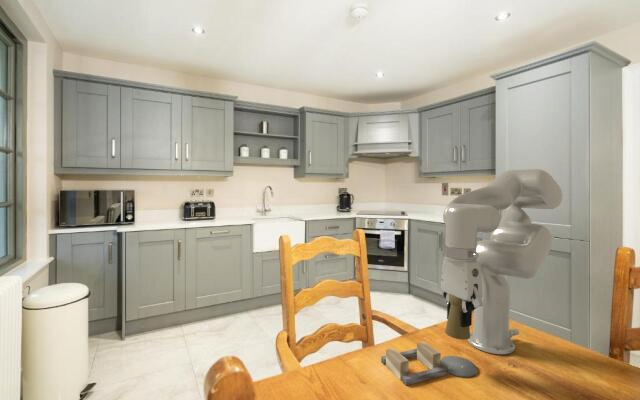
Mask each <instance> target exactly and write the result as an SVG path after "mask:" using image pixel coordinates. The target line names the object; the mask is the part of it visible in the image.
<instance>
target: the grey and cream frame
mask: <svg viewBox="0 0 640 400" xmlns="http://www.w3.org/2000/svg"><path fill="white" fill-rule="evenodd" d="M413 358H416V360H417V361H418V362H420V363H421V364H422V365H424V366H425V367H426V368H428V369H426V370H422V371H418V372H414V373H410V374H409V361H410V359H413ZM440 360H441V352H440V351H439V350H437V349H435V348H434V347H432V346H431V345H430V344H428V343H427V342H426V341H421V342H418V343H416V348H415V349H414V348H413V349H409V350H404V351H401V352H400V351H398V350H396V348H395V347H394V348H390V349H389V348H388V349H385V355H383V356H381V357H380V362H381V363H382V364H383V366H384V365H385V367H386V368H387V369H388V370H389V371H390V372H391V373H392V374H393V375H394V376H395V377H396V378H398V380H399V381H402V384H404V386H409V385H413V384H417V383H420V382H425V381H427V380H431V379H435V378H439V377H444V376H446V375H447V374H448V373H447V369H446V368H445V367H443V366H440Z"/></svg>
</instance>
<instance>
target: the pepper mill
mask: <svg viewBox="0 0 640 400" xmlns="http://www.w3.org/2000/svg"><path fill="white" fill-rule="evenodd" d="M449 302H450V304H451V306H450V311H449V316H448V319H447V322H446V327H445V331H444V332H445V333H444V334H446V335H447V336H448V337H450V338H453V339H457V340H460V341H461V340H463V341H465V340H466V341H467V340H468V339H469V338H470V333H471V330H470V329H471V328H470V326H467V327H461V325H460V322H461V320H460V313H461V311H463V310H462V300H461V299H460V298H458V297H456V296H454V295H451V294H450V295H449ZM467 305H469V302H467Z"/></svg>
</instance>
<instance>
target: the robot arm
mask: <svg viewBox="0 0 640 400" xmlns="http://www.w3.org/2000/svg"><path fill="white" fill-rule="evenodd" d="M562 201H563V191H562V189H561V186H560V185H559V184H558V182H557V181H556V179H554V177H553V176H552V175H550V173H549V172H547V171H545V170H543V169H540V168H539V169H538V168H535V169H533V168H532V169H512V170H511V169H510V170H506V171H503V172H502V173H501V174H499V175H498V176H497V177H496V178H494V180H492V181H491V182H490V183H489V184H488V185H487V186H484V187H483V186H482V187H479V188H476V189H473V190H471V191H468V192H464V193H462V194H460V195H458V196H456V197H455V198H454V199H453V200H452V201H450V202H449V203H448V204H447V205H446V207H445V209H444V211H443V215H442V220H443V222H444V225H445V241H444V244H445V248H444V257H443V261H442V266H441V276H440V286H439V287H438V289H439V291H440V293H442V296H443V297H444V300H445V302H444V303H445V305H446V306H447V307H446V319H447V320H448V316H449V311H450V306H451V304H450V302H449V295H450V294H451V295H454V296H456V297H458V298H460V299H461V300H462V310H463V311H461V313H460V320H461V322H460V325H461V327H467V326H469V327H471V326H472V319H473V326H472V328H473V331H472V332H471V331H470V338H469V339H467V343H469V344H470V345H471V346H472V347H474V349H477V350H480V351H482V352H485V353H488V354H493V355H510V354H512V353H513V352H514V351H515V350H516V344H515V342H513V341H512V340H511V339H512V337H514V336H518V335H519V334H520V330H519V329H518V328H510V318H511V315H510V314H511V287H510V284H509V283H508V281H507V279H506V277H505V276H508V277H513V278H517V279H523V280H531V279H533V278H536V276H537V275H538V274H539V271H540V270H541V268H542V266H543V264H544V263H545V261H546V258H547V257H548V255H549V252H550V250H551V246H552V240H553V239H552V232H551V231H550V230H549V228H547V226H545V225H542V224H537V223H532V219H531V218H530V216H529V215H528V213H527V212H526V211H525V210H524V209H534V210H535V209H536V210H537V209H538V210H553V209H556V208H558V207H559V206H560V205H561V203H562ZM500 211H501V212H502V217H501V215H500V214H501V213H500ZM478 233H481V234H482V233H483V234H487V233H490V234H489V235H490V236H489V239H482V240H478ZM467 302H469V305H467ZM472 313H473V314H472ZM472 317H473V318H472Z"/></svg>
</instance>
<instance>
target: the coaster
mask: <svg viewBox="0 0 640 400" xmlns="http://www.w3.org/2000/svg"><path fill="white" fill-rule="evenodd" d="M441 366H443V367H445V368H446V369H447V374H449V375H452V376H455V377H458V378H473V377H476V375H477V374H478V367H477V365H476V364H475V363H474V362H473V361H471V360H469V359H467V358H464V357H461V356H457V355H456V356H455V355H448V356H443V357H442V358H440V367H441Z"/></svg>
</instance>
